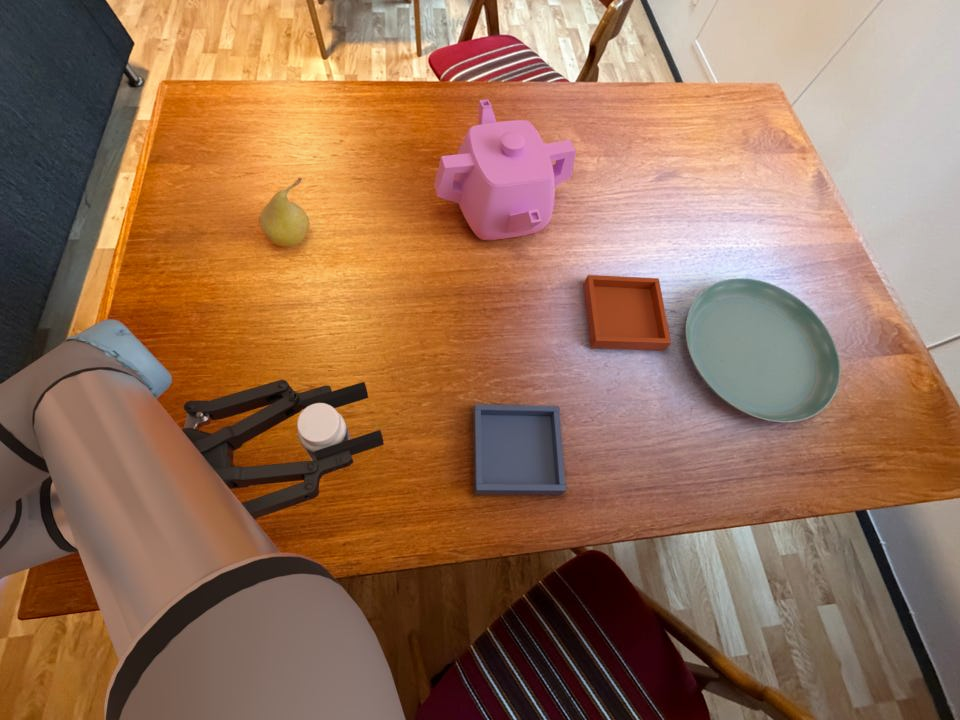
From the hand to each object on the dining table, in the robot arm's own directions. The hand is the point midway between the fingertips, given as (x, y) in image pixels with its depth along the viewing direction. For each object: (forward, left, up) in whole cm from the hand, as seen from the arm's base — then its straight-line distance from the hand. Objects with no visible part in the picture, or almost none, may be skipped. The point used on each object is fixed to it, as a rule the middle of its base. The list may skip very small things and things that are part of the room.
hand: (373, 413), depth 56 cm
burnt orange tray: (+23, -36, -18) cm, 46 cm away
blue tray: (+1, -18, -18) cm, 25 cm away
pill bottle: (-2, +5, -6) cm, 8 cm away
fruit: (+35, +16, -18) cm, 43 cm away
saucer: (+17, -56, -18) cm, 61 cm away
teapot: (+43, -17, -18) cm, 50 cm away
